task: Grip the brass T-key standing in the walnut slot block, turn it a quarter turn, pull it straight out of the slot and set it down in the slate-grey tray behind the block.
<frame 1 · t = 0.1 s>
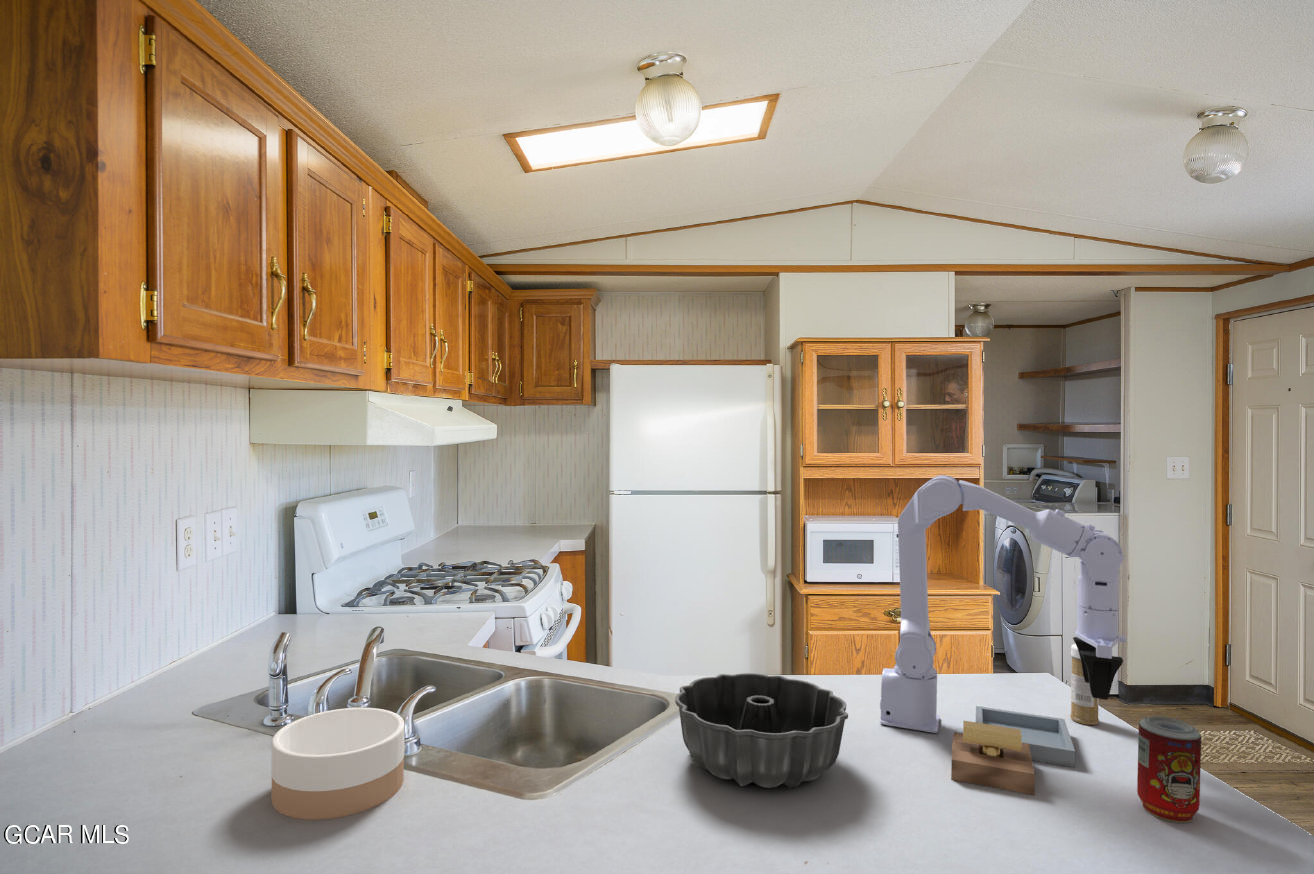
hand: (1095, 690, 120), 10 cm above the counter, tool pointing down, fingers open, 7 cm apart
slot block: (990, 771, 112), on the counter
bowl: (339, 790, 104), on the counter
soda can: (1167, 813, 101), on the counter
tray: (1021, 741, 123), on the counter
sprinkles bottle: (1084, 721, 133), on the counter
t key: (991, 749, 112), in the slot block
bundt pan: (759, 764, 114), on the counter
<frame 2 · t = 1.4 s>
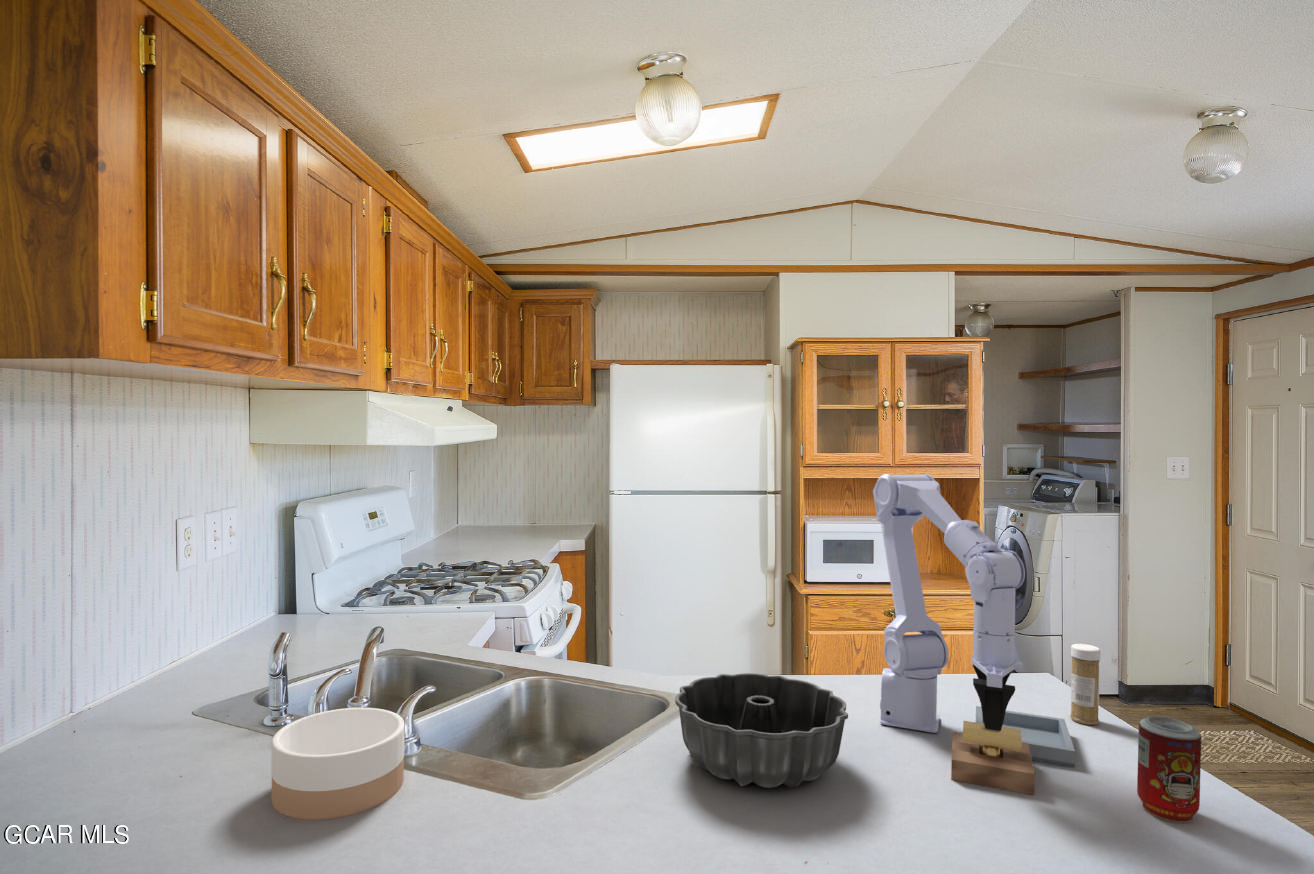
hand: (992, 720, 112), 8 cm above the counter, tool pointing down, fingers open, 7 cm apart
nothing on the counter moved.
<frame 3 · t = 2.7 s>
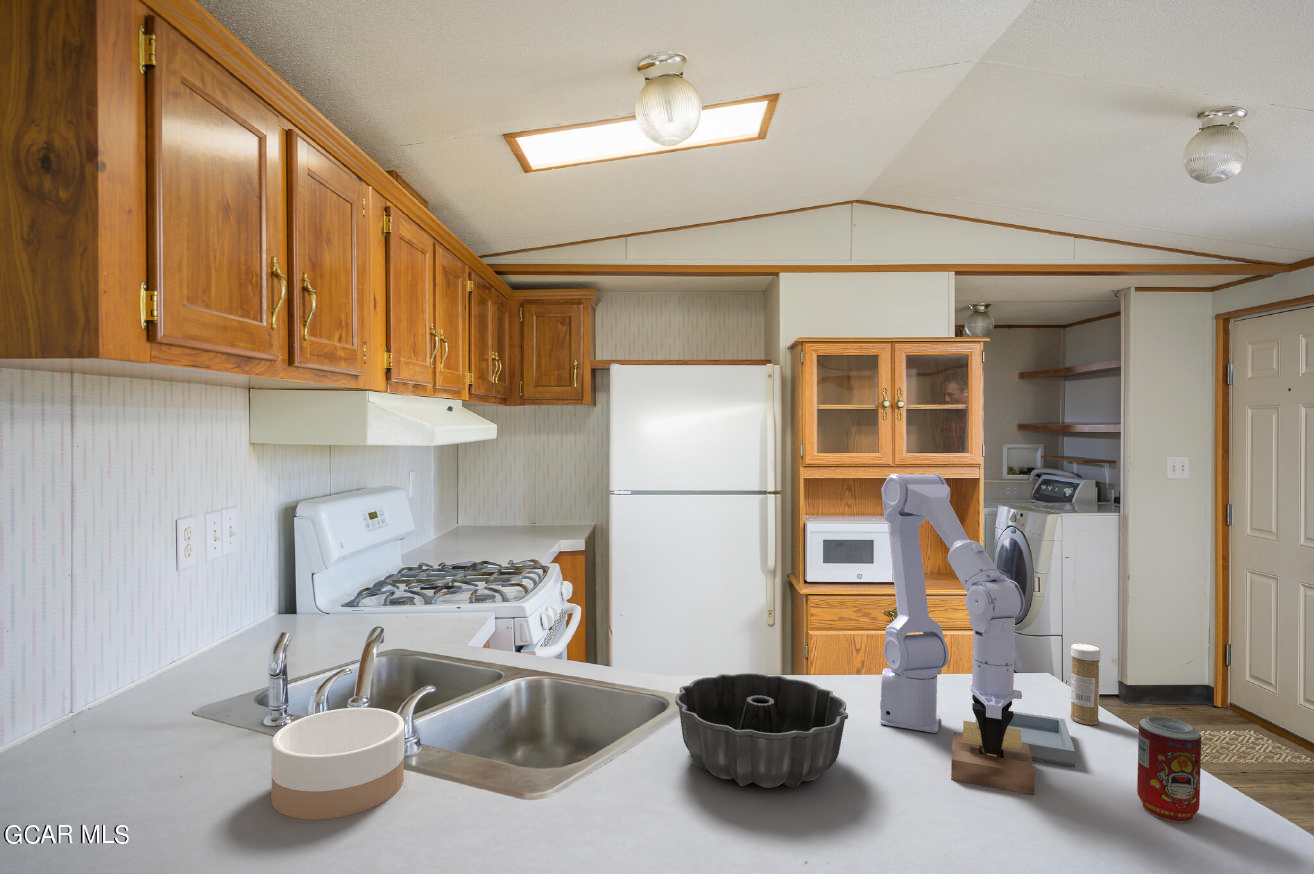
hand: (991, 748, 112), 3 cm above the counter, tool pointing down, fingers closed on t key, 3 cm apart
t key: (991, 749, 112), in the slot block, touching gripper
everything else where it was.
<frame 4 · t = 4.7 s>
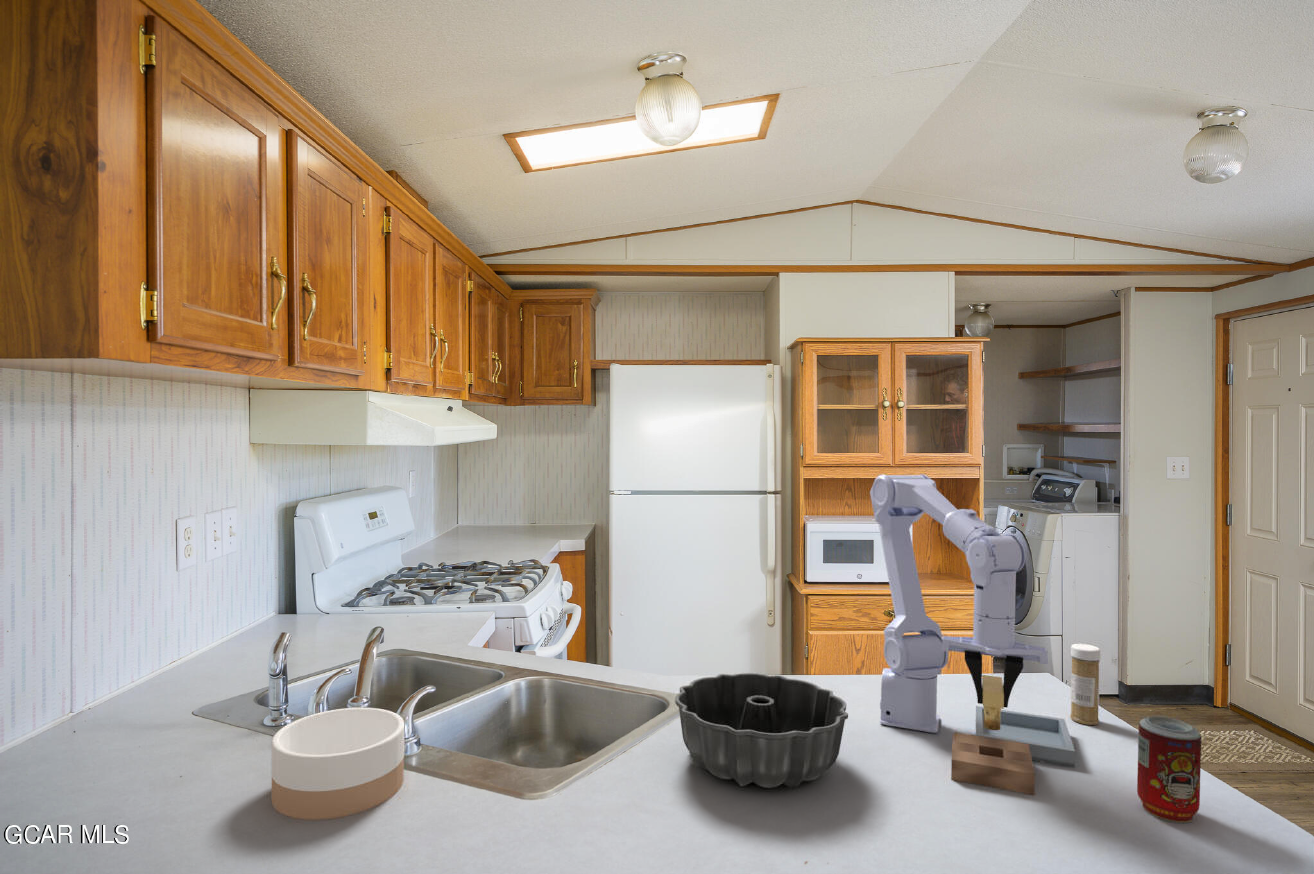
hand: (992, 703, 112), 10 cm above the counter, tool pointing down, fingers closed on t key, 3 cm apart
t key: (992, 705, 112), point 10 cm above the counter, touching gripper
everything else where it was.
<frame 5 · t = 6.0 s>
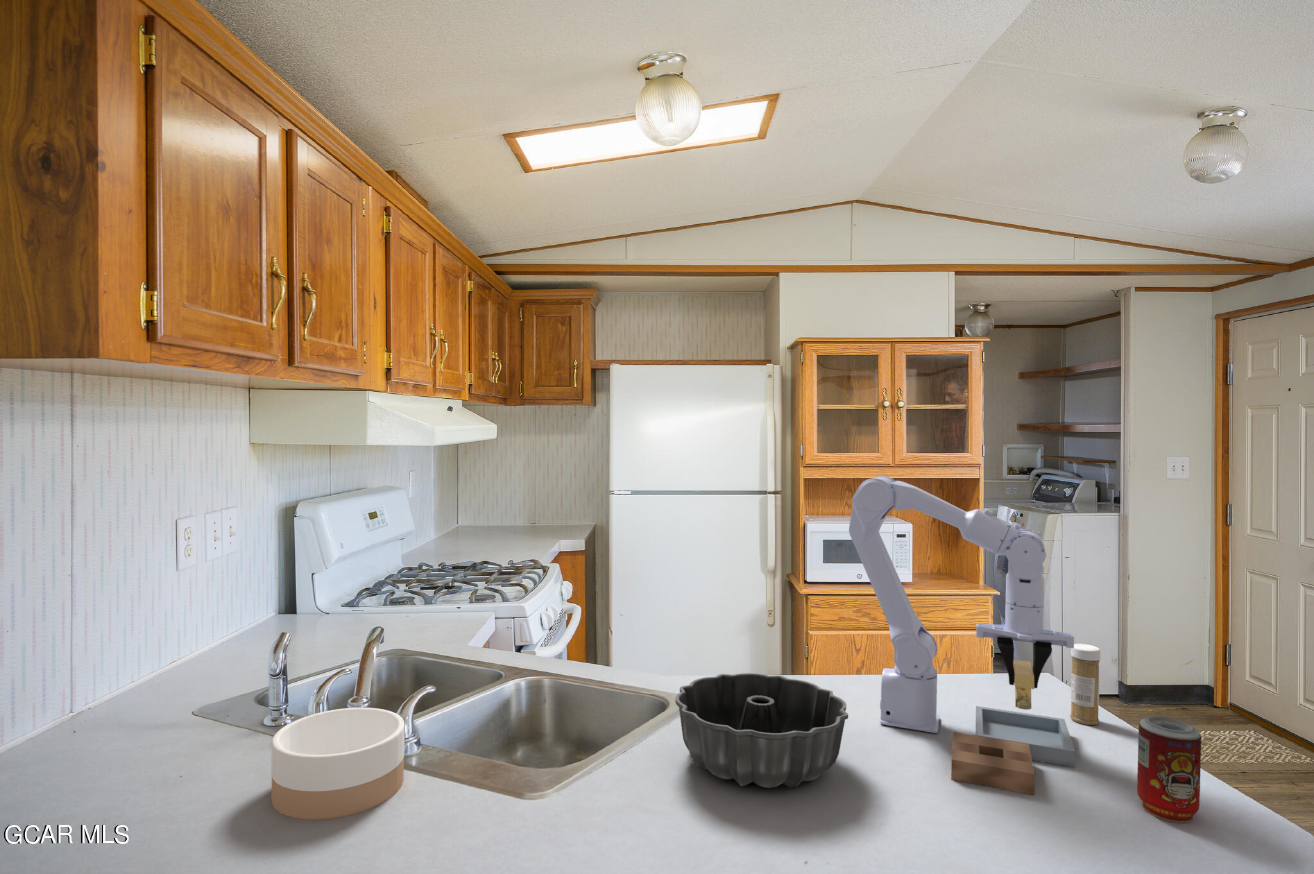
hand: (1022, 684, 123), 10 cm above the counter, tool pointing down, fingers closed on t key, 3 cm apart
t key: (1023, 687, 123), point 9 cm above the counter, touching gripper
everything else where it was.
when the fingers open (5 cm above the counter, at t = 7.0 s): t key stays where it is, resting on tray.
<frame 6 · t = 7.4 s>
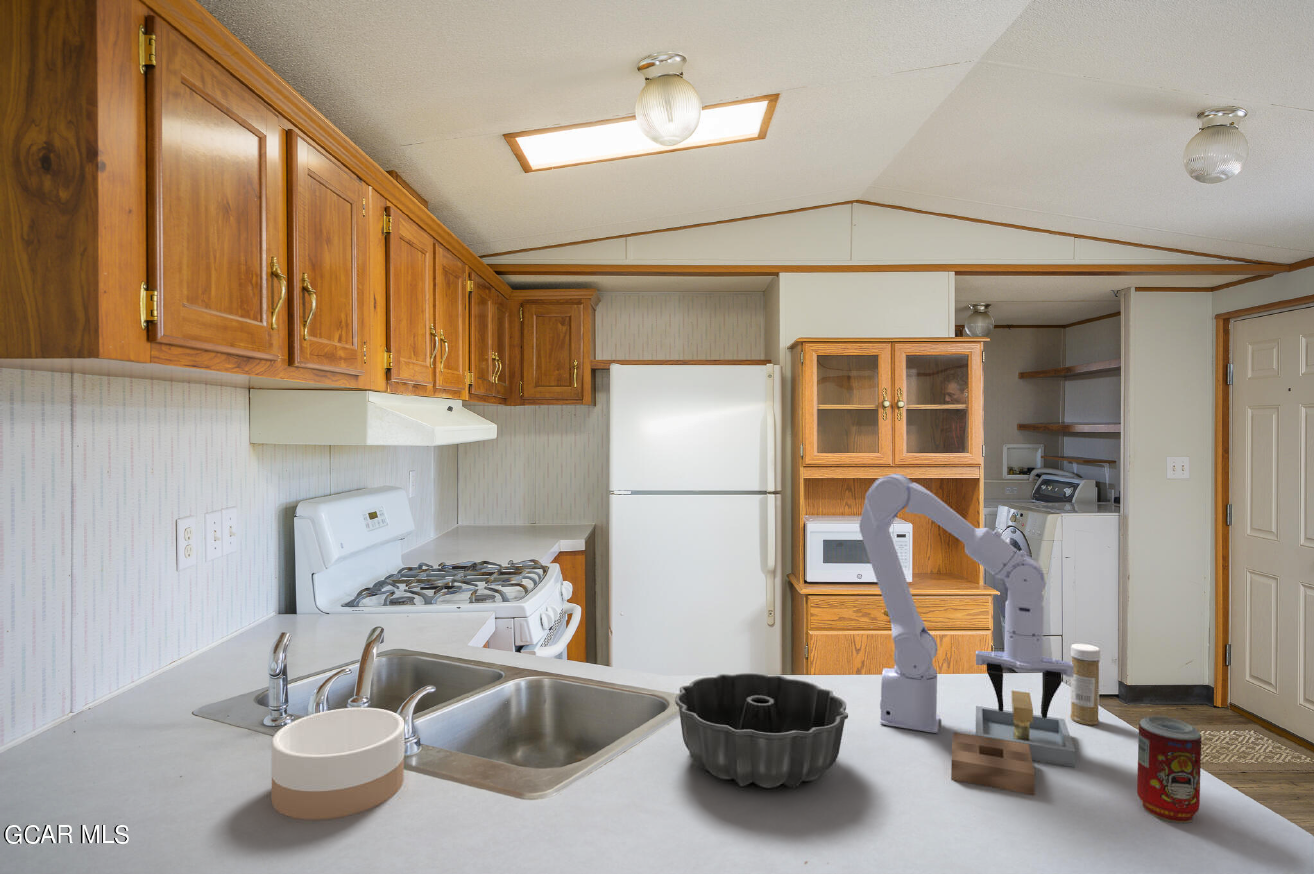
hand: (1022, 712, 123), 5 cm above the counter, tool pointing down, fingers open, 6 cm apart
t key: (1021, 719, 123), in the tray
everything else where it was.
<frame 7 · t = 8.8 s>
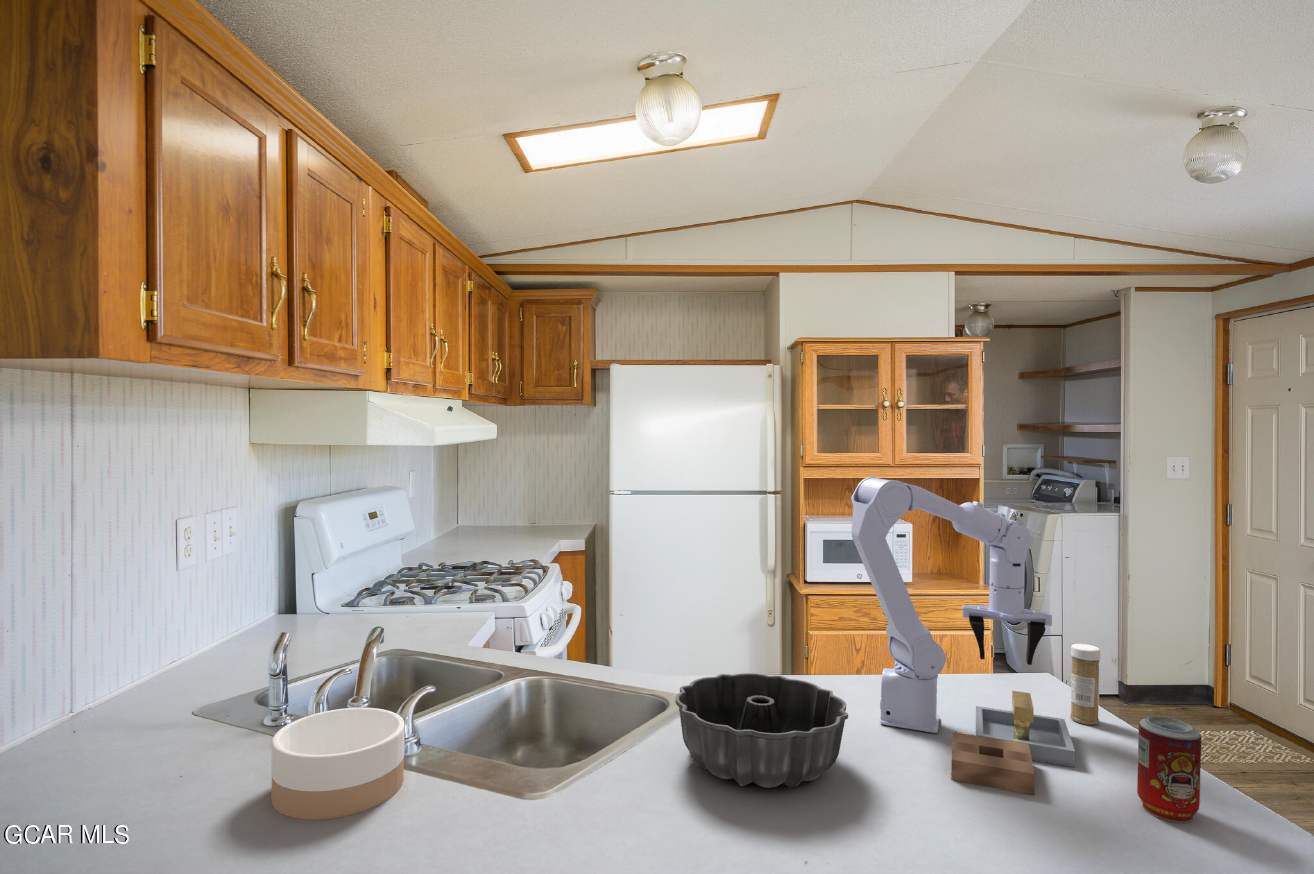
hand: (1005, 660, 133), 10 cm above the counter, tool pointing down, fingers open, 7 cm apart
nothing on the counter moved.
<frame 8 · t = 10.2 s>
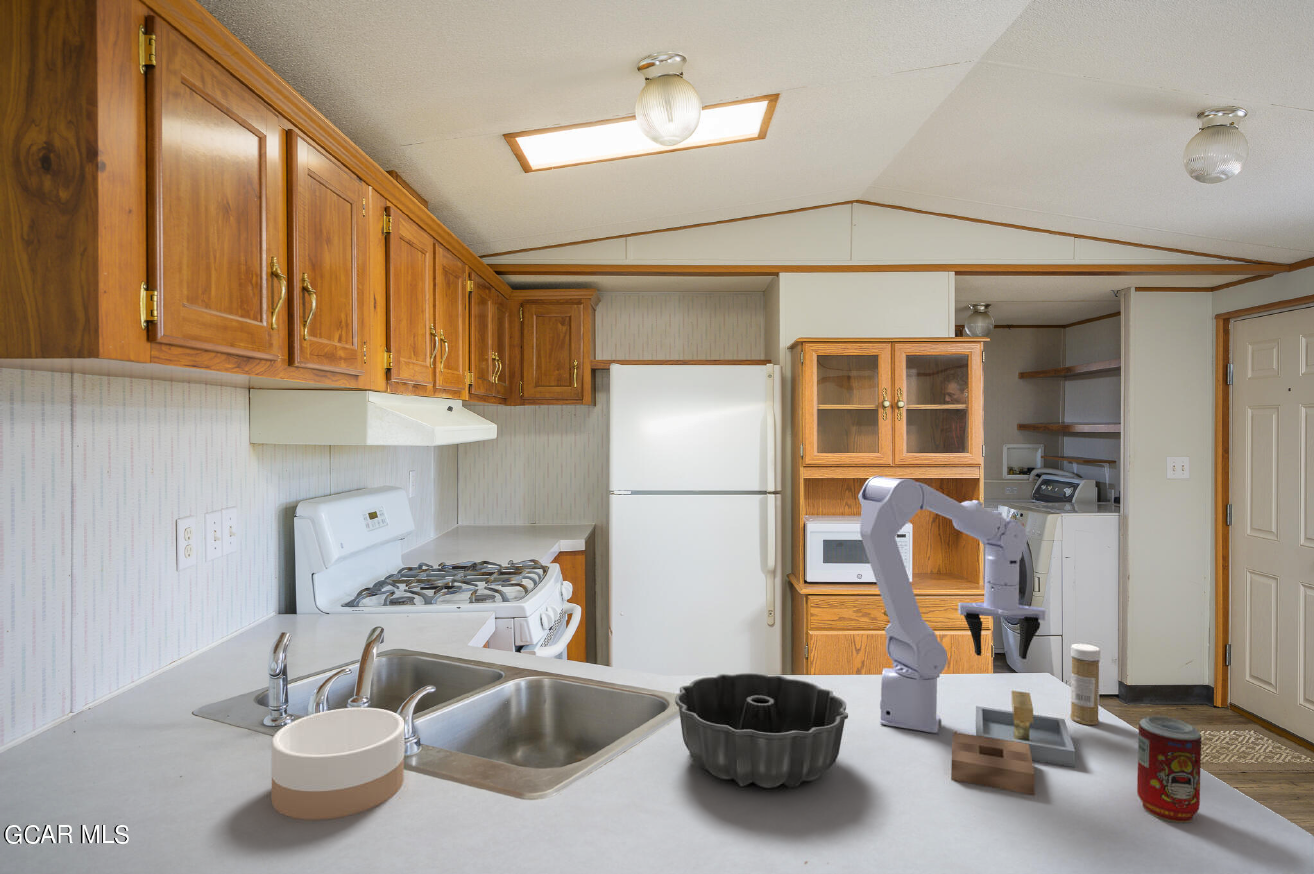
hand: (1000, 655, 136), 10 cm above the counter, tool pointing down, fingers open, 7 cm apart
nothing on the counter moved.
at the end: t key inside the target area on the tray (0.1 cm from its centre), point 3.8 cm above the tray's base; the gripper is holding nothing; t key touching tray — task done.
